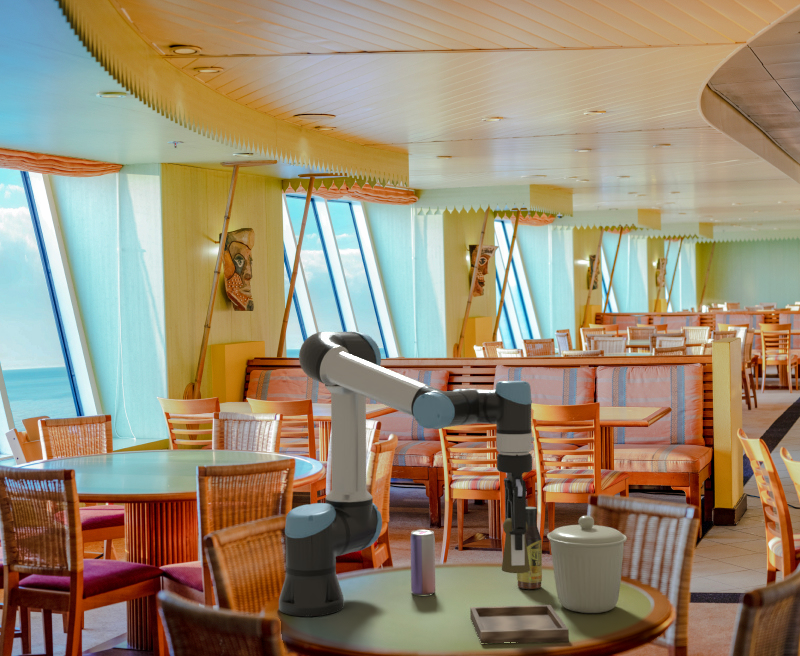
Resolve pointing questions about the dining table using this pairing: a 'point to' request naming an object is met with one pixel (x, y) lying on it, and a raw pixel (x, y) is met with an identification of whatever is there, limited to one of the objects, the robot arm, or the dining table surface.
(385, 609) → the dining table surface
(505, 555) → the brown tapered upright piece
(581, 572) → the canister
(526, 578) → the sauce bottle
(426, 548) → the beverage can
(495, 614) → the tray
